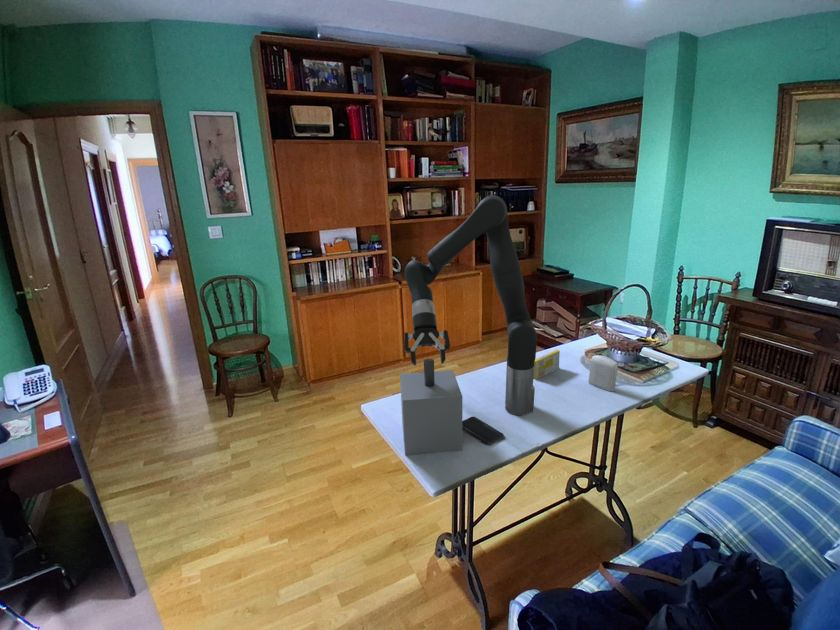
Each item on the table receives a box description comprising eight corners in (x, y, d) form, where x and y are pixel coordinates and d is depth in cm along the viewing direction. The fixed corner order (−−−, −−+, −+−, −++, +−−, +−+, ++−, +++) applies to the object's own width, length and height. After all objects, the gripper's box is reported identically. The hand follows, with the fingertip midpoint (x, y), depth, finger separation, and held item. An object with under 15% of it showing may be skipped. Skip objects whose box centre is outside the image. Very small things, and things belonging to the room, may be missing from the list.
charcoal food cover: (453, 419, 150) (452, 348, 142) (462, 450, 134) (462, 371, 125) (402, 423, 149) (398, 351, 141) (405, 455, 132) (401, 375, 124)
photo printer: (617, 389, 168) (620, 359, 164) (611, 392, 165) (614, 363, 161) (592, 380, 175) (595, 351, 171) (586, 383, 173) (589, 354, 169)
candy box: (555, 367, 188) (556, 349, 185) (559, 368, 186) (560, 350, 183) (531, 378, 178) (532, 360, 176) (535, 380, 177) (536, 361, 174)
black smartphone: (488, 444, 135) (456, 423, 147) (488, 447, 136) (456, 426, 147) (505, 435, 140) (473, 415, 151) (505, 438, 140) (473, 418, 151)
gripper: (402, 312, 137) (405, 360, 130) (446, 309, 138) (453, 357, 131) (401, 322, 144) (405, 369, 136) (444, 320, 145) (450, 366, 138)
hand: (428, 363), depth 134 cm, fingers open, 8 cm apart
